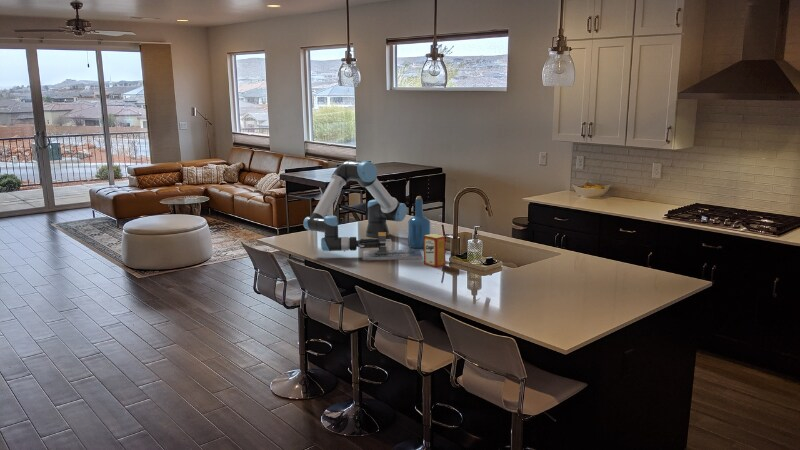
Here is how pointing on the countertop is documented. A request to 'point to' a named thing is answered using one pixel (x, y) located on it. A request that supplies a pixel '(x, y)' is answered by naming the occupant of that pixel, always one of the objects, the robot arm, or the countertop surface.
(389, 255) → the panel
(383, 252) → the breaker handle
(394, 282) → the countertop surface
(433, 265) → the baking soda box
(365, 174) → the robot arm
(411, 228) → the wine bottle
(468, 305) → the countertop surface
